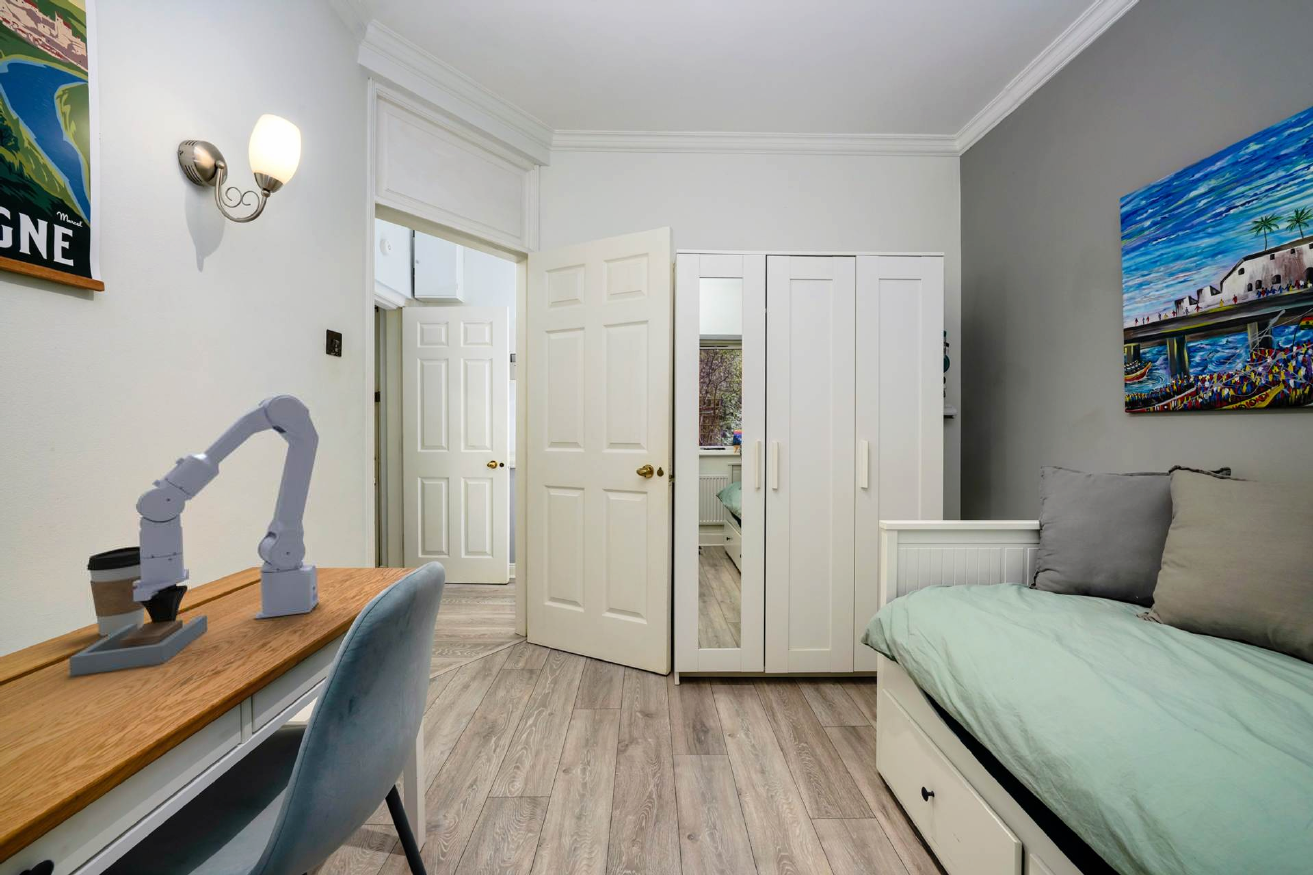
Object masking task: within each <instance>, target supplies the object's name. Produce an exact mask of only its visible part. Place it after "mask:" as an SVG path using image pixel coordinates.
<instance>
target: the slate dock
mask: <svg viewBox="0 0 1313 875" xmlns="http://www.w3.org/2000/svg"><path fill="white" fill-rule="evenodd" d="M136 630H138V628H137V623H134V624H128V625H126V626H125V627H123V628H121V629H119V630H118V631H116V632H114V633H112V634H110V635H109V636H104V637H103V638H102V639H100V640H98V641H96V642H94V643H93V644H91V645H89V646H88V647H86V648H84V649H82V650H81V651H78V652H77V653H75V654H74V655H72V656H70V657H69V676H70V677H73V676H74V677H75V676H79V675H80V676H81V675H88V674H94V673H101V672H102V673H104V672H109V671H117V670H125V669H131V668H139V667H145V666H146V667H147V666H152V665H153V666H154V665H160V664H165V663H166V662H168V661H169V660H170V659H171V658H173V657H174V656H175V655H176V654H179V653H180V651H182V650H183V649H184V648H186V647H187V646H189V645H190V644H191V643H193V642H194V641H195V640H196V639H198V638H199V637H201V636H202V635H203V634H204V633H206V632H207V631H208V615H207V614H205V615H204V614H203V615H198V616H196V617H195V618H194V619H192V620H191V621H189V622H188V623H186V624H185V625H184V626H183V627H182V628H181V629H179V630H178V631H176V632H175V633H173V634H172V635H171V636H169V637H168V638H166V639H165V640H163V641H162V642H160V643H159V644H156V645H148V646H140V647H132V648H124V649H121V640H122V639H123V638H125V637H127V636H128V635H130V634H132V633H133V632H135V631H136Z"/></svg>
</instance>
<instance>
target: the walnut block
mask: <svg viewBox="0 0 1313 875" xmlns="http://www.w3.org/2000/svg"><path fill="white" fill-rule="evenodd" d="M183 623H184V622H183V619H178V620H177V619H176V621H168V622H159V623H152V622H151V623H146V624H145V625H143V627H141V628H140V629H138V630H136V631H135V632H133V633H132V634H130V635H128V636H127V637H125V638H123V639H122V640H121V649H124V648H132V647H140V646H148V645H156V644H159V643H160V642H162V641H163V640H165V639H166V638H168V637H169V636H171V635H172V634H173V633H175V632H176V631H178V630H179V629H181V628H182V627H184V626H183Z"/></svg>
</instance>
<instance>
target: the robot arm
mask: <svg viewBox="0 0 1313 875" xmlns="http://www.w3.org/2000/svg"><path fill="white" fill-rule="evenodd" d="M271 429H272V430H274V431H275V432H277V433H278V434H279V435H280V436H281V437H282V438H283V440H284V441H286V443H288V447H287V451H286V452H287V453H286V457H285V461H284V466H283V471H282V475H281V480H280V486H279V489H278V494H277V500H276V503H275V508H274V513H273V518H272V520H271V522H270V523H269V525H268V526H267V531H266V534H265V536H264V537H263V538H262V539H261V541H260V542H259V544H258V547H257V552H258V555H259V557H260V559H261V560H262V561H264V562H263V564H262V565H261V567H260V588H261V589H260V590H261V593H260V594H261V596H260V598H261V610H260V611H258V613H257V614H255V615H254V616H253V618H254V619H262V618H272V617H280V616H288V615H290V616H291V615H297V614H307V613H310V612H311V611H312V610H313V609H314V607H316V605H317V604H318V603H319V602H320V601H319V600H320V599H319V592H318V590H319V588H318V571H317V567H316V565H314V564H313V565H308V564H307V565H305V564H304V561H303V560H304V558H305V556H306V546H305V544H304V537H305V535H304V534H305V531H304V526H303V519H304V513H305V510H306V509H305V508H306V504H307V503H306V502H307V498H308V494H309V490H310V484H311V480H312V475H313V469H314V465H315V460H316V455H317V450H318V445H319V438H320V437H319V434H318V432H317V430H316V428H315V425H314V423H313V420H312V418H311V415H310V409H309V408H308V407H307V406H306V405H305V404H304V403H303V402H302V401H301V400H300V399H298V398H297V397H296V396H293V395H290V394H279V395H276V396H272V397H267V398H264V399H262V400H261V401H260V402H259V404H258V405H256V406H254V407H252V408H250V409H249V410H248V411H246V412H245V413H243V414H242V415H241V416H240V417H239V418H238V419H237V420H236V421H235V422H233V424H231V425H230V426H229V428H227V429H226V430H225V431H224V432H223V433H222V434H221V435H220V436H219V437H218V438H216V439H215V441H214V442H213V443H211V445H209V446H208V447H207V448H206V449H205V450H204V451H203V452H202V453H191V454H188V455H186V457H178V459H176V460H175V461H174V462H175V464H176V465H175V467H173V468H172V469H171V470H170V471H169V472H167V473H166V475H164V476H162V478H160V480H159V479H155V480H154V481H153V482H152V485H153V486H155V487H154V488H151V489H148V490H146V491H144V492H143V493H142V494H141V495H140V496H139V497H138V500H137V502H136V504H135V508H136V511H137V512H138V514H139V515H141V516H140V520H139V527H140V530H139V532H138V533H139V546H140V564H141V580H138V581H135V582H133V586H138V587H137V589H135V590H133V598H134V602H135V601H139V602H140V603H141V604H142V605H143V606H144V609H145V610H146V611H147V613H148V615H149V617H150V620H151V623H159V622H168V621H176V620H177V616H178V612H179V608H180V605H181V603H182V600H183V597H184V596H185V594H186V592H187V591H188V585H186V584H183V585H177V584H180V583H183V582H184V581H187V580H189V579H190V569H189V568H185V566H184V565H185V564H184V542H183V540H184V539H183V527H182V526H181V524H182V523H181V514H182V513H183V512H184V510H185V507H186V502H187V501H191V500H193V498H195V497H196V496H197V495H198V494H199V493H200V492H201V491H202V490H203V489H204V488H206V486H207V485H208V484H209V483H211V482H212V480H214V479H215V478H217V476H218V475H219V474H220V469H219V468H220V467H219V465H220V463H221V462H223V460H224V459H226V458H227V457H228V456H230V454H232V453H233V452H234V451H235V450H236V449H238V448H239V447H240V446H241V445H242V444H243V443H245V442H246V441H247V440H248V439H249V438H250V437H252V435H254V434H257V433H261V432H264V431H268V430H271Z"/></svg>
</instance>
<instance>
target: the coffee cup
mask: <svg viewBox="0 0 1313 875" xmlns="http://www.w3.org/2000/svg"><path fill="white" fill-rule="evenodd" d="M86 567H87V569H86V570H87V571H89V572H90V578H91V580H90V581H89V582H90V587H91V594H92V600H93V605H94V610H95V615H96V620H97V629H98V634H99V635H100V636H102V637H107V636H106V635H110V634H112V633H114V632H116V631H118V630H119V629H121V628H123V627H125V626H126V625H128V624H134V623H137V628H138V629H140V628H141V627H143V626H144V624H145V623H144V622H145V621H144V620H145V619H144V618H145V607H144V606H143V605H142V604H141V603H140V602H139V601H135V602H134V598H133V590H135V589H137V587H138V586H133V582H135V581H138V580H141V564H140V545H139V546H138V545H137V546H129V547H121V548H117V549H116V548H115V549H112V550H108V551H105V552H104V551H103V552H101V553H97V554H93V555H91V556H90V557H89V560H88V564H87V565H86Z"/></svg>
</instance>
